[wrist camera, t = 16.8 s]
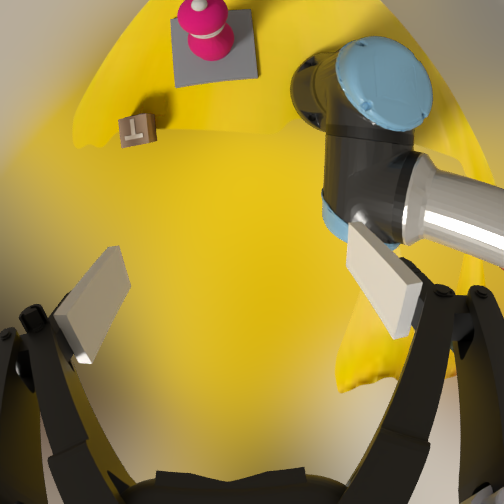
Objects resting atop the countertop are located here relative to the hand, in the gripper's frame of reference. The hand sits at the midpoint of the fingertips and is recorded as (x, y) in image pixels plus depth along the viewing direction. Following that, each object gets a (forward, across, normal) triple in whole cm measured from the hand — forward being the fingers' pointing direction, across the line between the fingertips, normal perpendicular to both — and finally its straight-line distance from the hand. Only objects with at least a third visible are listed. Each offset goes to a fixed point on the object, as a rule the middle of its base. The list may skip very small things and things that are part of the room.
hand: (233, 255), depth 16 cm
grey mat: (+37, +2, -22) cm, 43 cm away
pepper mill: (+36, +2, -22) cm, 42 cm away
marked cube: (+37, +16, -8) cm, 41 cm away
